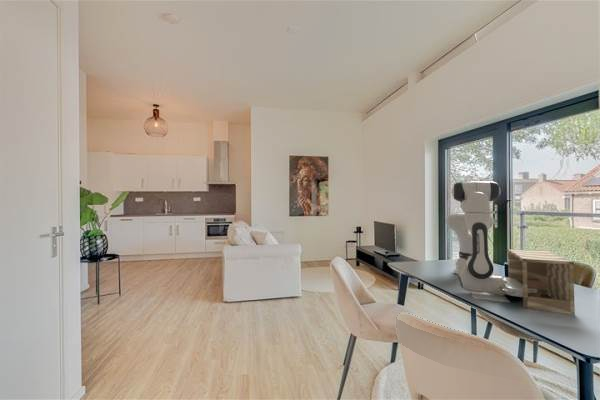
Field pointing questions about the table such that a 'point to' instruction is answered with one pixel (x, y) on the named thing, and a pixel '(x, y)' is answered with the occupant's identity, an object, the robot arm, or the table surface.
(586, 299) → the table surface
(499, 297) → the mat
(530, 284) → the block
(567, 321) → the table surface
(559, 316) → the table surface
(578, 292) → the table surface
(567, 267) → the cubby
